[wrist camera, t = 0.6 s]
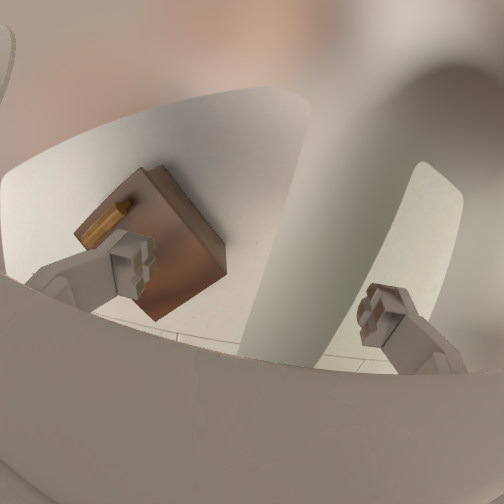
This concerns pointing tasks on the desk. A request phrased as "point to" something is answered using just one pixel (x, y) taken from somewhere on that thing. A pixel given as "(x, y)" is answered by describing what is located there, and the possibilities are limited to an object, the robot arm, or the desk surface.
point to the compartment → (189, 213)
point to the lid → (166, 243)
